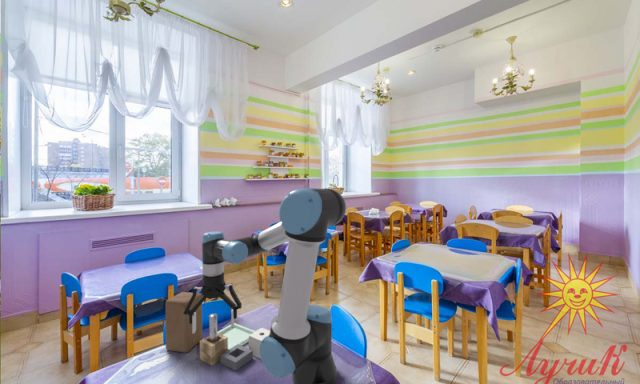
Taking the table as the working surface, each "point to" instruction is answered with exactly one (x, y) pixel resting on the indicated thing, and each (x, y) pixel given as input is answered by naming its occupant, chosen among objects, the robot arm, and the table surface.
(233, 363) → the pin stand
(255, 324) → the table surface
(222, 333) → the mint tray
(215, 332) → the steel pin
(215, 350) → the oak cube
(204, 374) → the table surface
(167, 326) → the wooden block
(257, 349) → the white cube
